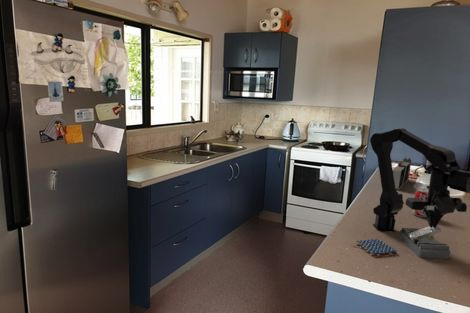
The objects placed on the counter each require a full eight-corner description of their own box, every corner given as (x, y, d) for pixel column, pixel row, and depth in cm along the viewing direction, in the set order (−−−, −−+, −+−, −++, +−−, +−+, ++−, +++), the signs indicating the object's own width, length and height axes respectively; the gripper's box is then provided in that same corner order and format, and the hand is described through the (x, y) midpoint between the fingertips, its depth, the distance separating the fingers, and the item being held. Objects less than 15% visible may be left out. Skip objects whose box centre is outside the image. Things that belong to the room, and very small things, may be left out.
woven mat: (373, 259, 117) (374, 254, 116) (354, 245, 127) (354, 240, 126) (399, 256, 120) (400, 251, 119) (378, 243, 130) (379, 238, 129)
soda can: (411, 216, 159) (415, 190, 157) (412, 211, 165) (415, 187, 163) (429, 219, 156) (433, 193, 153) (429, 214, 162) (433, 189, 160)
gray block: (412, 241, 124) (411, 238, 124) (407, 236, 128) (406, 234, 128) (441, 231, 123) (440, 228, 123) (435, 227, 127) (434, 224, 127)
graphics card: (401, 178, 230) (404, 157, 227) (409, 180, 227) (412, 158, 224) (389, 189, 203) (393, 165, 200) (398, 191, 201) (401, 166, 198)
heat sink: (418, 257, 119) (420, 244, 118) (398, 237, 134) (400, 226, 134) (448, 259, 119) (451, 246, 118) (425, 238, 134) (427, 227, 133)
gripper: (422, 190, 114) (416, 235, 117) (480, 193, 114) (473, 238, 117) (407, 181, 125) (402, 223, 128) (460, 184, 125) (453, 225, 128)
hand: (432, 227), depth 125 cm, fingers closed
